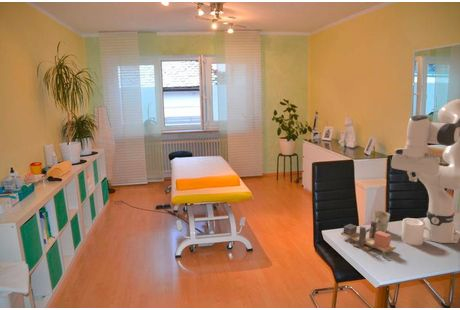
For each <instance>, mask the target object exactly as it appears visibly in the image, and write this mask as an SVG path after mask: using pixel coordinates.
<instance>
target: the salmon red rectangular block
mask: <svg viewBox="0 0 460 310" xmlns="http://www.w3.org/2000/svg"><path fill="white" fill-rule="evenodd" d="M391 236H392V234H391V233H387V232H382V231H378V232H377V231H376V233H375V239H374V244H375V245H378V246H381V247H383V248H387V247H389V246H390V244H391Z"/></svg>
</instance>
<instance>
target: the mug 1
mask: <svg viewBox="0 0 460 310" xmlns="http://www.w3.org/2000/svg"><path fill="white" fill-rule="evenodd" d="M390 217H391V213H389V212H387V211H382V210H381V211H380V210H378V211H377V210H376V211H374V212H373V221H375V222H377V226H376V232H378V231H382V232H385V233H387V230H388V227H389V226H388V225H389V222H390Z"/></svg>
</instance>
